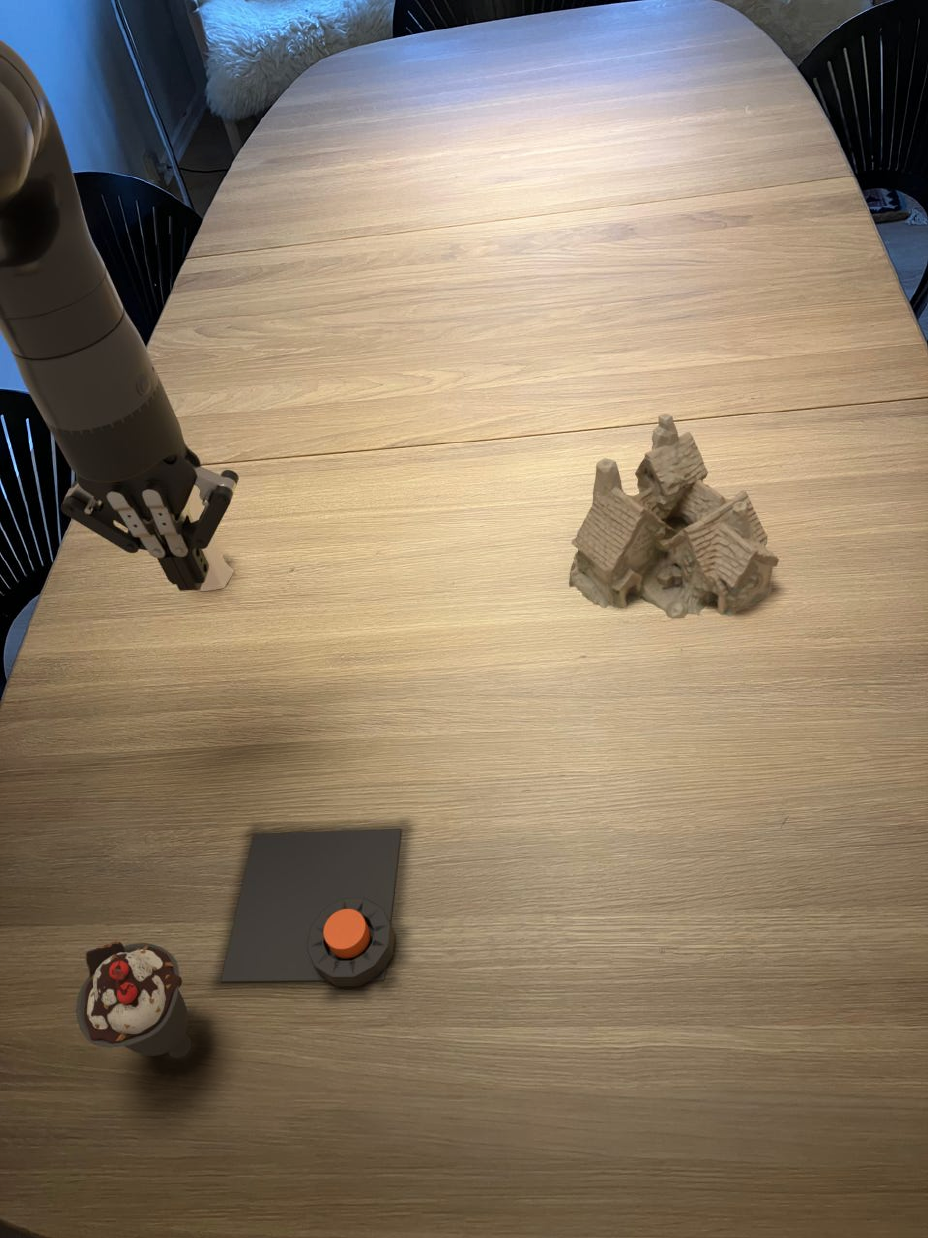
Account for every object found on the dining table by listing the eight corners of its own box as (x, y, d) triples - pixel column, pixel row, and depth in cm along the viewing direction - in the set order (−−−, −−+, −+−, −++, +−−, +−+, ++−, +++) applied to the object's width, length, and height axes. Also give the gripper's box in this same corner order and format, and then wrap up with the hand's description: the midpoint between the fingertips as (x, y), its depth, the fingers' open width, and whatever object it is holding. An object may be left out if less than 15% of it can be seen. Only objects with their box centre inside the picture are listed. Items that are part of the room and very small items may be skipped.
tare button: (325, 959, 72) (320, 949, 71) (332, 919, 74) (326, 909, 73) (367, 958, 71) (362, 949, 70) (373, 918, 73) (367, 908, 72)
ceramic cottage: (550, 562, 98) (542, 439, 86) (702, 504, 101) (714, 378, 89) (628, 680, 88) (632, 559, 77) (794, 613, 91) (822, 487, 79)
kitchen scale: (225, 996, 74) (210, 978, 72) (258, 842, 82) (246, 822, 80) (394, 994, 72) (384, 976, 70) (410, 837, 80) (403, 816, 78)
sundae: (230, 1095, 69) (143, 1006, 58) (133, 1109, 70) (29, 1023, 59) (237, 999, 74) (157, 900, 63) (146, 1012, 74) (51, 917, 63)
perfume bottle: (182, 586, 105) (123, 472, 94) (212, 558, 107) (157, 444, 96) (214, 600, 102) (156, 485, 91) (243, 572, 104) (190, 456, 94)
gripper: (212, 346, 66) (287, 543, 79) (24, 364, 68) (126, 552, 81) (181, 418, 61) (266, 615, 74) (-21, 434, 63) (95, 623, 76)
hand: (193, 582), depth 77 cm, fingers closed
